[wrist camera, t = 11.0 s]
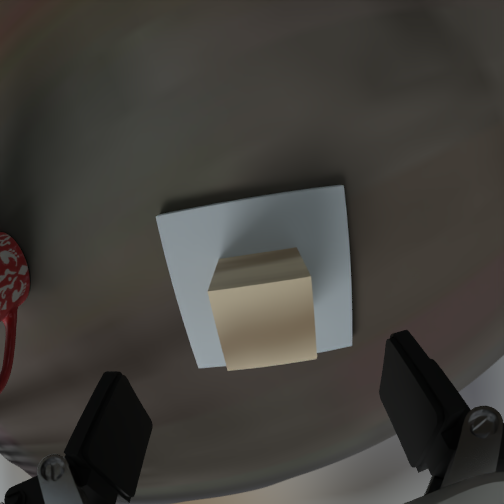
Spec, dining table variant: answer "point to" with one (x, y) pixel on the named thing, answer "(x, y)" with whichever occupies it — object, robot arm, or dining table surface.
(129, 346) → the dining table surface
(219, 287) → the maple block
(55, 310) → the dining table surface
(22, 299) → the mug
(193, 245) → the pad
